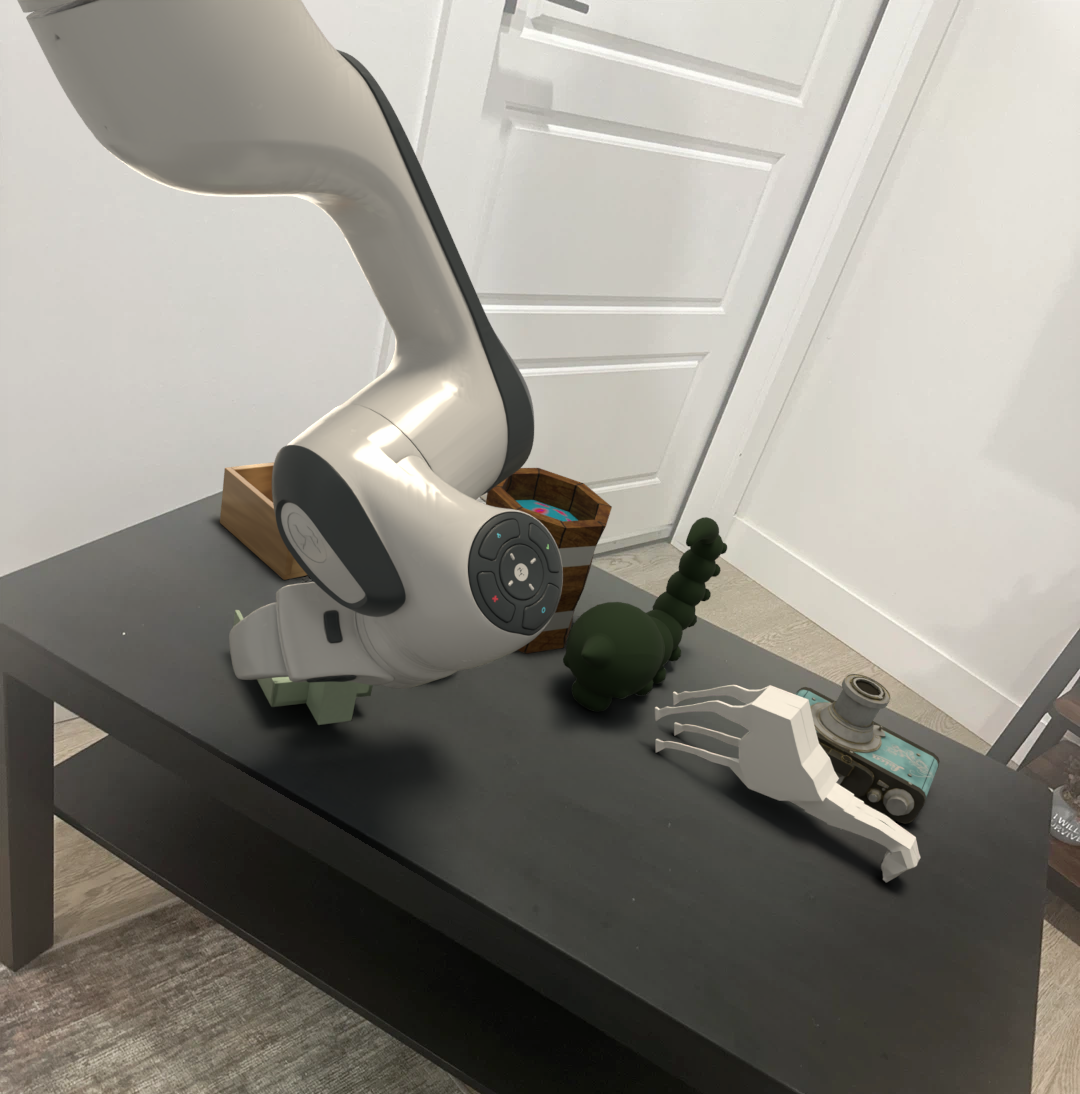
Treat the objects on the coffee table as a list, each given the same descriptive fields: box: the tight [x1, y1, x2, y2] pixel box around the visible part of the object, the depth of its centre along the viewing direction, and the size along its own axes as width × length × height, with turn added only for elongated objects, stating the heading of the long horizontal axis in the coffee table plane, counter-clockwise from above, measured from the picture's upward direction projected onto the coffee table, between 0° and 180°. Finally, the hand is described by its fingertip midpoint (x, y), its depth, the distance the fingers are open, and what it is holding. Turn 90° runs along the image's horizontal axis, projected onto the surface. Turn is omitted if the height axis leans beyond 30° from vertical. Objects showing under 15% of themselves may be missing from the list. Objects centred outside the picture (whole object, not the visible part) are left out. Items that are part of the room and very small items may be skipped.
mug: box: [479, 467, 613, 654], centre depth 105 cm, size 20×14×15 cm
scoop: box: [232, 609, 374, 726], centre depth 84 cm, size 14×9×10 cm, turn 30°
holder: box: [219, 461, 308, 581], centre depth 107 cm, size 12×12×7 cm
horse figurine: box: [654, 684, 921, 884], centre depth 92 cm, size 5×16×25 cm
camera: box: [794, 673, 941, 824], centre depth 100 cm, size 16×10×10 cm
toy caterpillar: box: [562, 516, 728, 713], centre depth 99 cm, size 9×19×25 cm
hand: (335, 655), depth 80 cm, fingers closed on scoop, 3 cm apart
